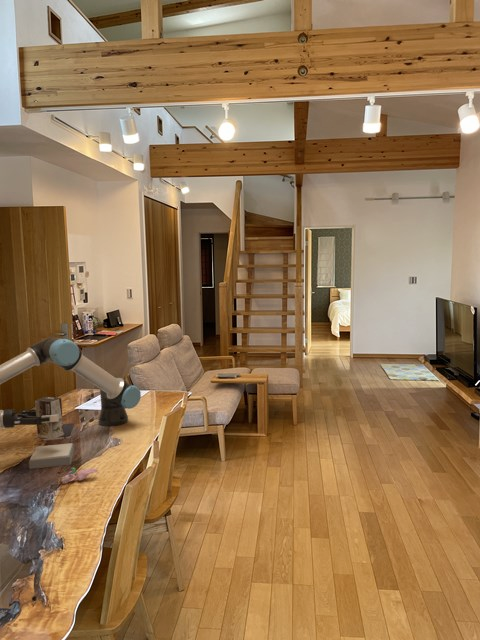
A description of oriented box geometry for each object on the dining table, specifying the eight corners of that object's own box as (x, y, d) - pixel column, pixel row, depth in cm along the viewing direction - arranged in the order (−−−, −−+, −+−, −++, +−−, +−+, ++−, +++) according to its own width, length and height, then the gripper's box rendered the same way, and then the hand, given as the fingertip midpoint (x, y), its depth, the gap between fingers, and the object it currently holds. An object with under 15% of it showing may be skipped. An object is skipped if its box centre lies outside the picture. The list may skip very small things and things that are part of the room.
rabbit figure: (59, 490, 192) (99, 478, 196) (55, 475, 191) (96, 463, 195) (60, 483, 198) (99, 472, 202) (56, 469, 197) (95, 458, 201)
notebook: (49, 428, 264) (42, 441, 244) (49, 425, 264) (42, 438, 243) (74, 425, 267) (70, 439, 246) (74, 422, 267) (70, 436, 246)
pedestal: (74, 451, 228) (73, 442, 228) (70, 464, 213) (69, 455, 212) (36, 455, 225) (35, 446, 224) (29, 469, 209) (28, 459, 209)
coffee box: (64, 434, 218) (62, 397, 217) (53, 439, 213) (50, 401, 211) (48, 432, 222) (46, 396, 221) (36, 436, 216) (34, 399, 215)
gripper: (10, 419, 224) (63, 415, 229) (-3, 436, 202) (57, 431, 207) (9, 403, 223) (62, 399, 228) (-4, 417, 201) (55, 413, 206)
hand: (60, 414), depth 217 cm, fingers closed on coffee box, 10 cm apart
